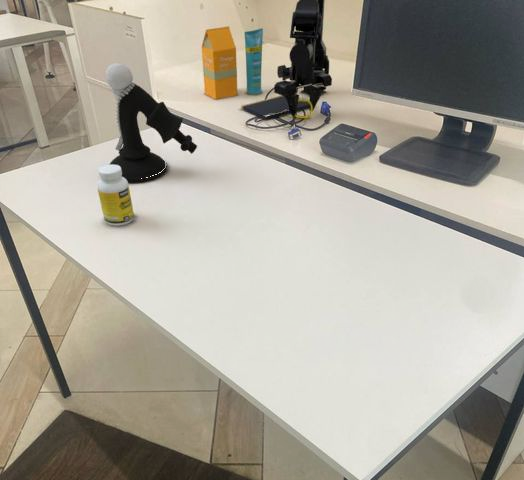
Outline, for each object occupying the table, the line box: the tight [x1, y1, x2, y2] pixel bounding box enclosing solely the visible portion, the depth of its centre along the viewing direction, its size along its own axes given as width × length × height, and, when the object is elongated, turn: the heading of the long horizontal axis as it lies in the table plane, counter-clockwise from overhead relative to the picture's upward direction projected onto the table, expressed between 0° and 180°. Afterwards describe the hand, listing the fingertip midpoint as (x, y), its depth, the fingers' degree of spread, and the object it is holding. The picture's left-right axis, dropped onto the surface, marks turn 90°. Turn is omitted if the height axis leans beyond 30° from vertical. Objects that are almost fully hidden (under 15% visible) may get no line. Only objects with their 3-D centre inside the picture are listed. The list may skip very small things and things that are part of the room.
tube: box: [244, 27, 264, 96], centre depth 178 cm, size 7×5×19 cm, turn 134°
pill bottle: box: [96, 163, 135, 226], centre depth 113 cm, size 6×6×12 cm
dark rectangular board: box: [240, 95, 309, 121], centre depth 172 cm, size 20×13×1 cm, turn 128°
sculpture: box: [105, 62, 198, 184], centre depth 128 cm, size 15×24×25 cm, turn 86°
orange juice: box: [201, 26, 239, 100], centre depth 177 cm, size 8×9×20 cm
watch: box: [295, 96, 313, 120], centre depth 163 cm, size 6×3×6 cm, turn 90°
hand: (302, 113), depth 165 cm, fingers open, 7 cm apart
